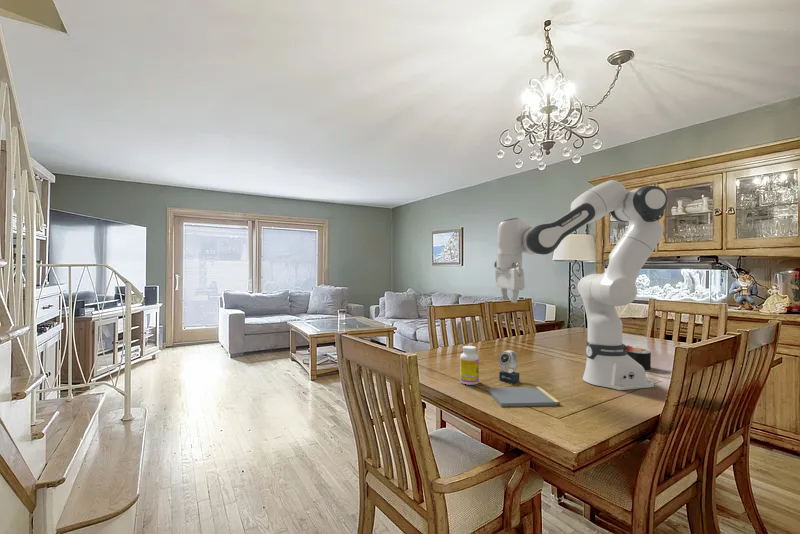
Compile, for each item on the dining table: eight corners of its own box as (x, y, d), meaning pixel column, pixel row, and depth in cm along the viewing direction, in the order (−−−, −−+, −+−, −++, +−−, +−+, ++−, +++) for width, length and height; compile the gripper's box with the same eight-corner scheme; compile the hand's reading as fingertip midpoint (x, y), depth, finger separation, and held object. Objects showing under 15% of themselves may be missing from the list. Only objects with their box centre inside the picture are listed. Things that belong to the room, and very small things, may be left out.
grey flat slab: (539, 389, 127) (539, 386, 127) (559, 405, 113) (559, 401, 113) (487, 390, 126) (487, 387, 126) (501, 406, 112) (501, 403, 112)
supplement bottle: (478, 386, 130) (478, 349, 130) (459, 385, 132) (459, 348, 132) (478, 380, 137) (478, 345, 137) (460, 379, 138) (460, 344, 138)
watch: (496, 381, 136) (496, 351, 136) (508, 377, 141) (508, 348, 141) (509, 385, 131) (509, 354, 131) (522, 380, 137) (522, 350, 137)
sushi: (622, 366, 155) (622, 347, 155) (635, 364, 159) (635, 345, 159) (641, 371, 148) (642, 351, 148) (654, 369, 152) (655, 349, 151)
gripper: (529, 263, 126) (529, 304, 126) (508, 263, 146) (508, 298, 146) (510, 263, 125) (510, 304, 125) (492, 263, 146) (492, 298, 146)
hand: (509, 301), depth 136 cm, fingers open, 8 cm apart
